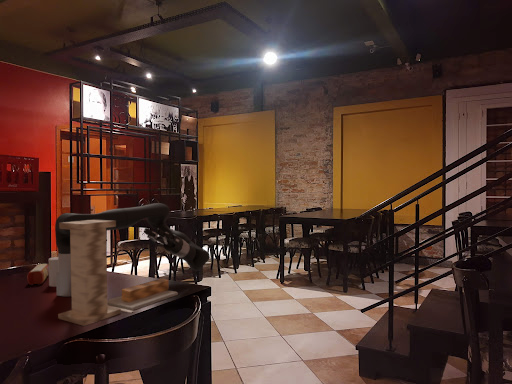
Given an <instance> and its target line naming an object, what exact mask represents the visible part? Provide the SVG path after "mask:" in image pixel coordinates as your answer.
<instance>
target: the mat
mask: <svg viewBox="0 0 512 384" xmlns="http://www.w3.org/2000/svg"><path fill="white" fill-rule="evenodd" d="M178 294H179V293H178V292H177V291H173V290H169V289H168V290H166V291H163V292H160V293H157V294H153V295H150V296H147V297H144V298H141V299H137V300H134V301H131V302H126V301H123V300H122V295H120V296H119V295H118V296H116V297H112V298H110V299H107V305H110V306H114V307H118V308H123V309H127V310H131V311H134V310H137V309H141V308H143V307H146V306H150V305H152V304H155V303H159V302H160V301H163V300H166V299H170V298H172V297H175V296H178Z"/></svg>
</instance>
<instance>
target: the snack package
mask: <svg viewBox="0 0 512 384" xmlns="http://www.w3.org/2000/svg"><path fill="white" fill-rule="evenodd" d="M47 277H49V263H39V264H37V265H35V267H34V268H33V269H31V270H30V271H29V272H28V273H27V276H26V278H27V283H28V284H29V285H30V286H33V285H32V284H38V285H42V284H43V283H44V282H45V280H46V279H47Z"/></svg>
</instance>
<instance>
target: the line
mask: <svg viewBox="0 0 512 384" xmlns="http://www.w3.org/2000/svg"><path fill="white" fill-rule="evenodd" d="M107 306H110V305H107ZM110 307H114V306H110ZM114 308H119V307H114ZM119 309H121V312H125V313H127V314H133V313H135V311H134V310H127V309H123V308H119ZM132 312H133V313H132Z"/></svg>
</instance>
